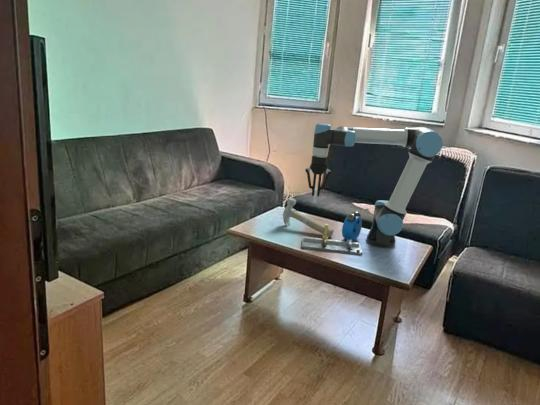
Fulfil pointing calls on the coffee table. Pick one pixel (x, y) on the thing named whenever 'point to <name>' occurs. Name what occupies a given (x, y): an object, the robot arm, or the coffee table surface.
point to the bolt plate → (331, 247)
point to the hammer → (302, 218)
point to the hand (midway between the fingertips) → (314, 202)
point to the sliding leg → (325, 235)
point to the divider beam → (333, 241)
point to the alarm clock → (352, 226)
